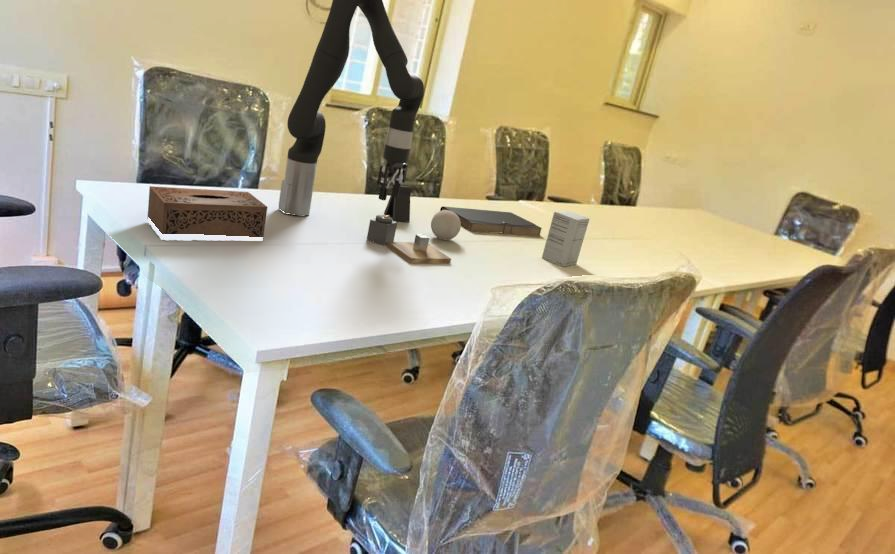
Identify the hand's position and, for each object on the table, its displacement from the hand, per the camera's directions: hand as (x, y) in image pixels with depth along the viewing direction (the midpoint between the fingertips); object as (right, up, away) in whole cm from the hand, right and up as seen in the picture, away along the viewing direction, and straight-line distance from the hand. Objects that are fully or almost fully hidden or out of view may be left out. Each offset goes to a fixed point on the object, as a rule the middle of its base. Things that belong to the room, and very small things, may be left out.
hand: (388, 198), depth 190 cm
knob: (-3, -13, +4) cm, 14 cm away
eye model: (+16, -11, +22) cm, 30 cm away
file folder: (+34, -4, +59) cm, 68 cm away
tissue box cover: (-47, -12, -22) cm, 53 cm away
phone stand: (-1, -3, +36) cm, 36 cm away
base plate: (+9, -17, -1) cm, 19 cm away
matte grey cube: (+9, -16, -1) cm, 18 cm away
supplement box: (+56, -19, +28) cm, 65 cm away
